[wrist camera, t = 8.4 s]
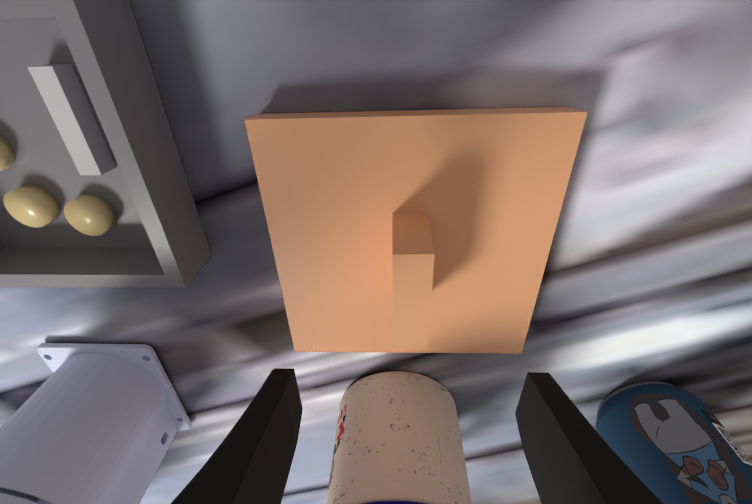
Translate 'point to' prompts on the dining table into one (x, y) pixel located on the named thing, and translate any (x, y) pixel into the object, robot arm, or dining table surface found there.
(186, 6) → the dining table surface
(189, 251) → the parts tub
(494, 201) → the lid
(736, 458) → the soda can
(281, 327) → the dining table surface
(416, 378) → the teacup with lid
